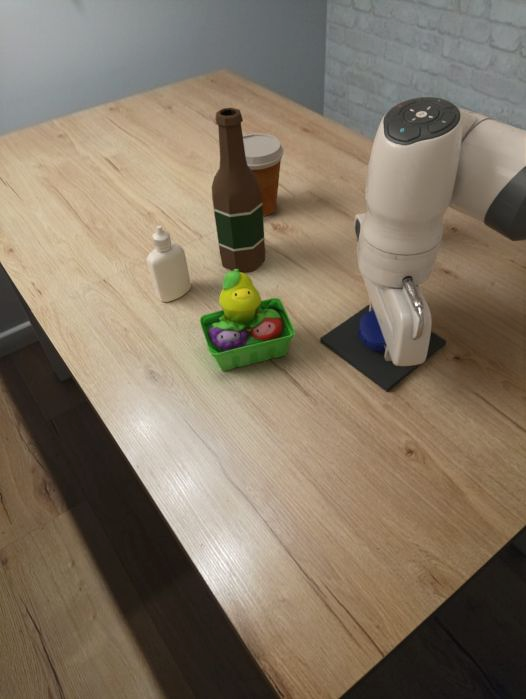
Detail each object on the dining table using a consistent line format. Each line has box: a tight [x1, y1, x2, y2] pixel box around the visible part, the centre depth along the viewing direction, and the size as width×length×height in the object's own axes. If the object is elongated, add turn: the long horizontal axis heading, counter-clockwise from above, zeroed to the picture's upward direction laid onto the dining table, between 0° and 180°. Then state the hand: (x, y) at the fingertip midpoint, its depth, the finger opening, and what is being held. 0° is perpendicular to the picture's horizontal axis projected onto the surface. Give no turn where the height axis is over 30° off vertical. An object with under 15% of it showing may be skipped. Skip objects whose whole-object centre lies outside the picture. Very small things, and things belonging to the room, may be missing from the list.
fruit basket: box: [199, 269, 296, 372], centre depth 67 cm, size 11×9×11 cm
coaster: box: [319, 303, 447, 393], centre depth 70 cm, size 12×12×1 cm
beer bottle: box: [211, 107, 266, 273], centre depth 76 cm, size 8×8×24 cm
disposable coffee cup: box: [242, 132, 285, 217], centre depth 91 cm, size 10×10×12 cm
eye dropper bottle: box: [146, 225, 192, 303], centre depth 76 cm, size 4×6×12 cm
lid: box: [359, 310, 386, 351], centre depth 69 cm, size 6×6×2 cm
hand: (382, 336), depth 70 cm, fingers closed on lid, 6 cm apart
